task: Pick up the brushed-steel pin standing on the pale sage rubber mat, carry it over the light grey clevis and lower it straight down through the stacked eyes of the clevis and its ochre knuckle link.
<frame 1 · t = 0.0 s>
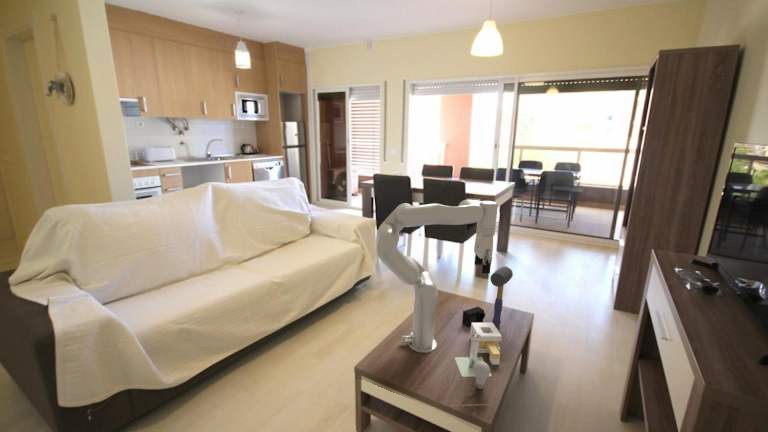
hand: (481, 268, 152), 37 cm above the table, tool pointing down, fingers open, 9 cm apart
pin mat: (472, 367, 145), on the table
lightbulb: (479, 388, 133), on the table
clevis: (484, 346, 159), on the table
steel pin: (472, 366, 144), resting on pin mat
digital camera: (473, 323, 178), on the table
rubber mallet: (496, 325, 177), on the table
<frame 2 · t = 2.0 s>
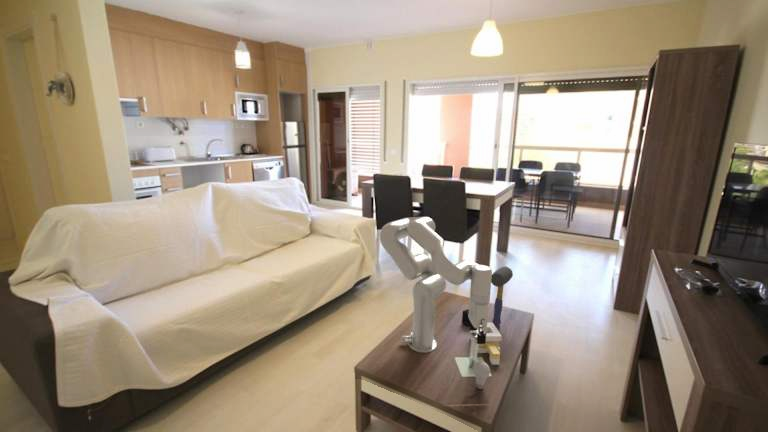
hand: (477, 336, 141), 15 cm above the table, tool pointing down, fingers open, 9 cm apart
nothing on the table moved.
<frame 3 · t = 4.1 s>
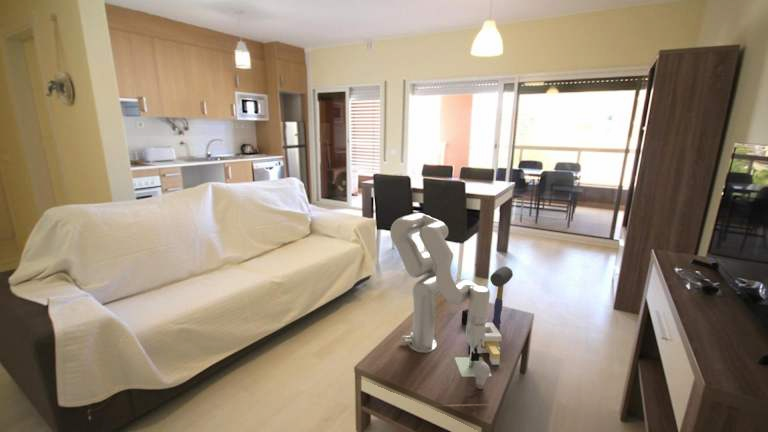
hand: (473, 357, 143), 5 cm above the table, tool pointing down, fingers closed on steel pin, 3 cm apart
steel pin: (472, 366, 144), point 1 cm above the table, touching gripper, pin mat
everything else where it was.
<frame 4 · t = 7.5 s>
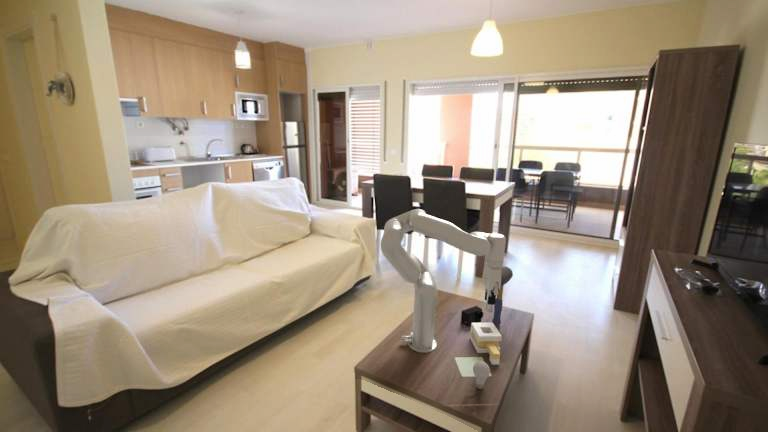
hand: (489, 301, 154), 22 cm above the table, tool pointing down, fingers closed on steel pin, 3 cm apart
steel pin: (489, 310, 155), point 18 cm above the table, touching gripper
everything else where it was.
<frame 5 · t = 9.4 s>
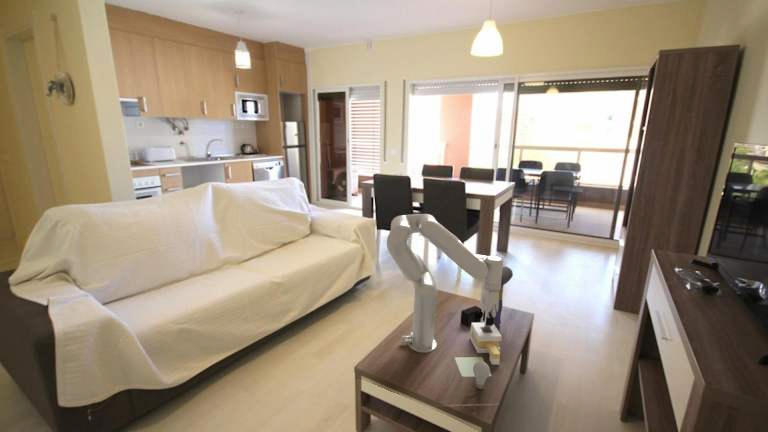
hand: (487, 322, 156), 12 cm above the table, tool pointing down, fingers closed on steel pin, 3 cm apart
steel pin: (487, 331, 157), point 8 cm above the table, touching gripper
when the fingers open (9 cm above the table, at t = 10.9 s): steel pin drops 5 cm, resting in clevis.
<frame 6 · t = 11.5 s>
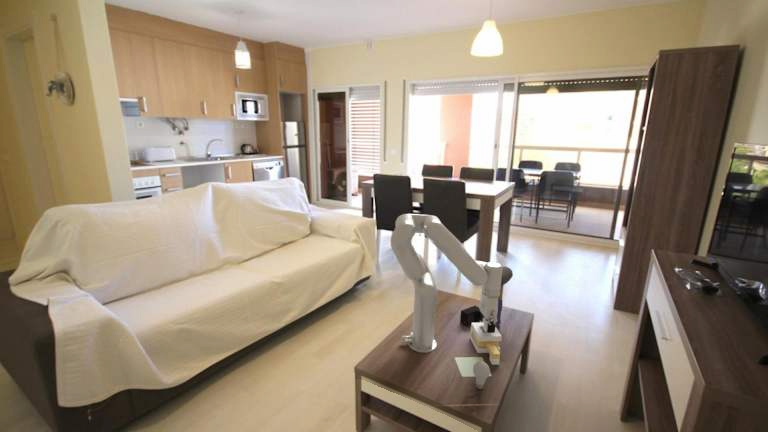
hand: (487, 326, 156), 10 cm above the table, tool pointing down, fingers open, 9 cm apart
steel pin: (484, 346, 159), resting in clevis
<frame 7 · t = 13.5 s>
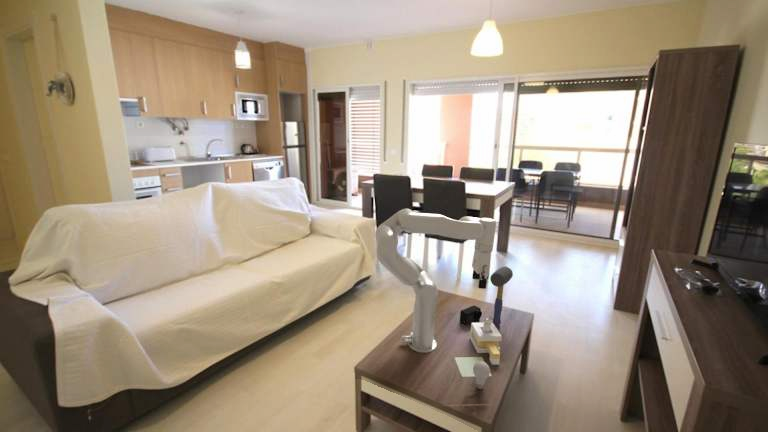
hand: (478, 283, 156), 29 cm above the table, tool pointing down, fingers open, 9 cm apart
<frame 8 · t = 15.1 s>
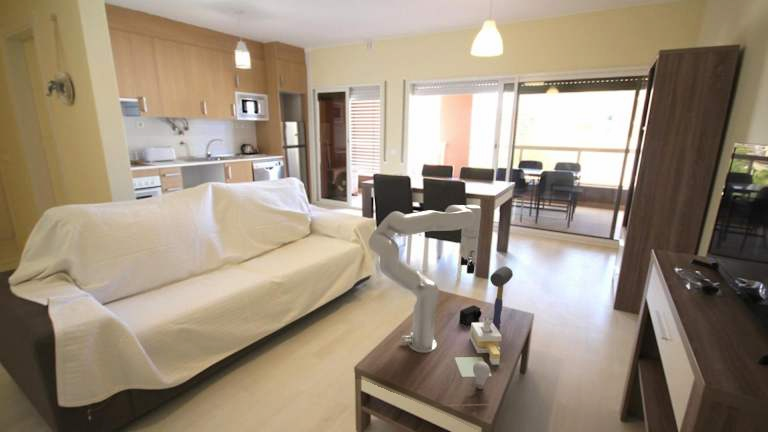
hand: (467, 269, 160), 33 cm above the table, tool pointing down, fingers open, 9 cm apart
at the end: steel pin 0.0 cm off-centre on the clevis, point 0.0 cm above the clevis's base; steel pin tilted 0°; the gripper is holding nothing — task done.
